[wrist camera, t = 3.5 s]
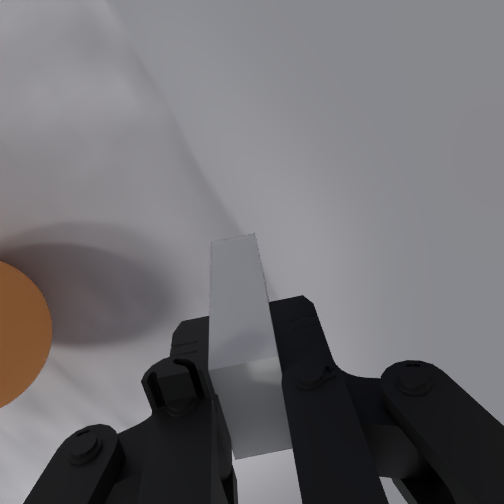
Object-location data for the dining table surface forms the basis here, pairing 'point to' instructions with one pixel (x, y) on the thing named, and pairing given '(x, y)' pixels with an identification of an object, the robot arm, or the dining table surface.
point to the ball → (21, 332)
